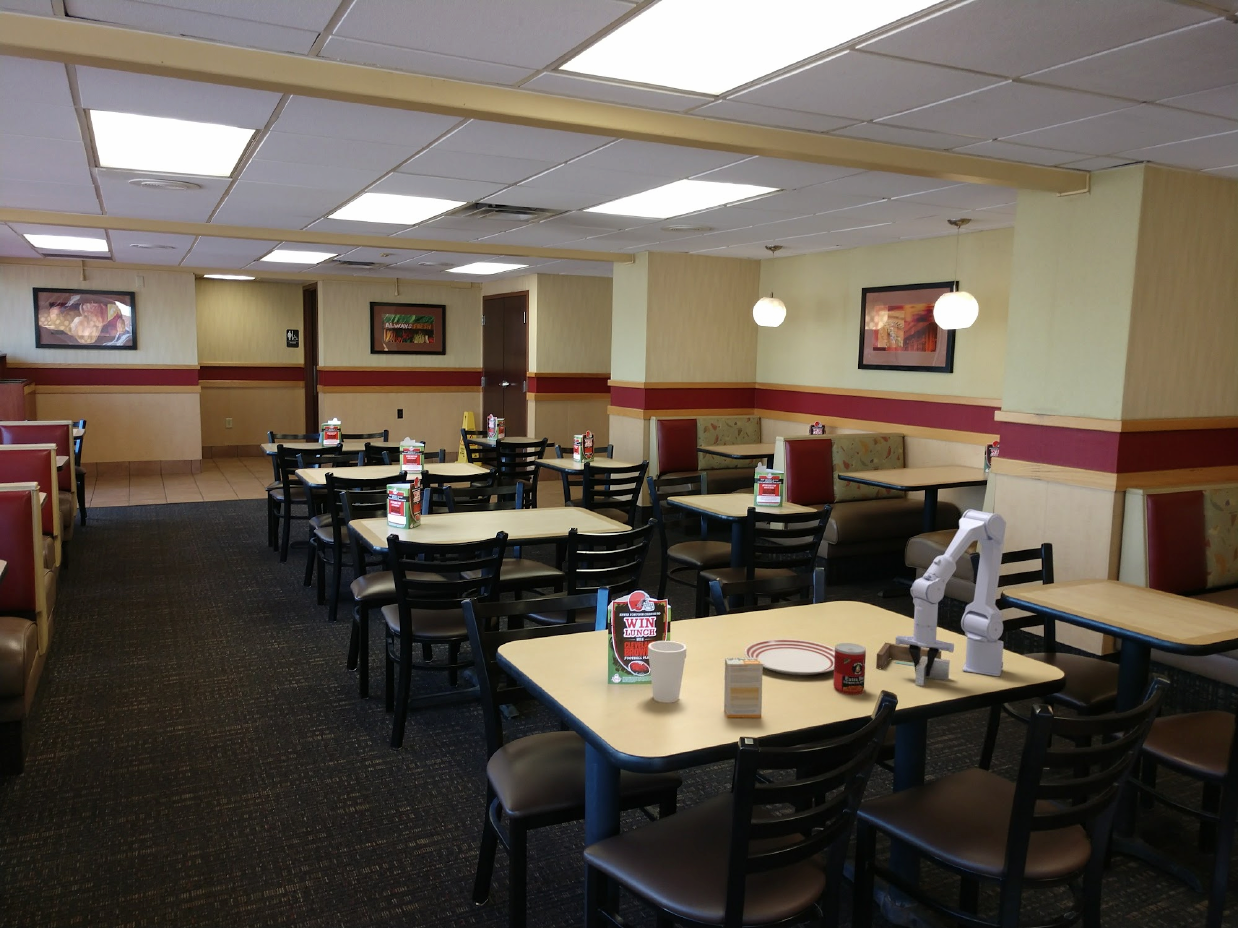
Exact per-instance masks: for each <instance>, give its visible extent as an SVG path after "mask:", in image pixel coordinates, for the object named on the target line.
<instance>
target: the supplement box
mask: <svg viewBox="0 0 1238 928" xmlns="http://www.w3.org/2000/svg"><path fill="white" fill-rule="evenodd" d="M763 668H764V667H763V664H762V663H761V661H760V659H759V658H747V657H725V658H724V694H723V695H724V698H723V699H724V701H723V704H724V705H723V709H724V710H723V711H724V713H725V715H726V719H727V718H729V719H731V718H733V719H734V718H735V719H737V718H738V719H739V718H742V719H743V718H744V719H745V718H750V719H751V718H753V719H754V718H755V719H756V718H760V719H761V718H762V713H763V712H762V711H763V710H762V709H763V706H762V703H763Z"/></svg>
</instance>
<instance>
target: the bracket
mask: <svg viewBox="0 0 1238 928" xmlns="http://www.w3.org/2000/svg"><path fill="white" fill-rule="evenodd" d="M950 662H951V660H950V659H944V658H941V659H938V658H935V660H934V662H933V664H932V667H931V671H930V676H926V671H927V657H924V656H922V657H921V659H920V661H919V663H918V664H917V666H916V671H915V681H914V682H915V683H914V685H915V686H918V687H924V686H925V685H926V683H927V680H928V678H929V679H934V680H942V681H949V679H950Z"/></svg>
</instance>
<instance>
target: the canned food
mask: <svg viewBox="0 0 1238 928" xmlns="http://www.w3.org/2000/svg"><path fill="white" fill-rule="evenodd" d="M834 649H835V656H834V670H833V688H834V689H835V691H836V692H838V693H841V694H845V695H859V694H861V693H863V692H864V690H865V679H866V678H865V675H866V657H867V656H866V655H867V651H866V647H865V646H863V645H860V644H856V643H851V642H842V643H841V642H840V643H837V644H836V645H835V646H834Z"/></svg>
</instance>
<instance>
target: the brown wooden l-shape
mask: <svg viewBox="0 0 1238 928" xmlns="http://www.w3.org/2000/svg"><path fill="white" fill-rule="evenodd" d="M928 650H929V648H922V647H921V652H920V659H921V657H922V656H924V657H927V651H928ZM890 658H891V660H895V661H897V660H898V661H903V660H904V661H903V662H908V663H914V662H913V659H912V657H911V655H910V653H909V646H908V645H902V644H900V645H897V644H895V643H892V642H884V644H883V645H882V647H880V649H879V650H878V652H877V653H876V663H875V665H876V666H875V667H876V669H879V668H881V669H880V670H882V669H883V668H884V666H885V665H886V664H887V662H888V661H889V660H890ZM935 658H938V659H942V650H939V652H938V654H937V656H936V657H935ZM885 663H886V664H885Z"/></svg>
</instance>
